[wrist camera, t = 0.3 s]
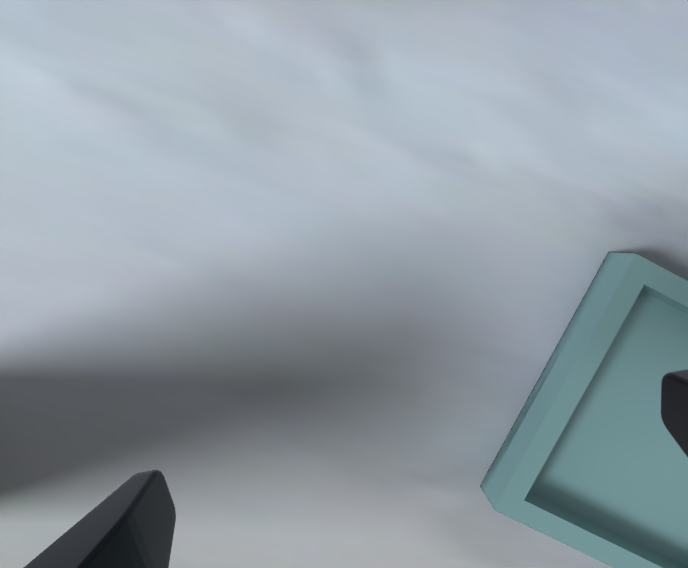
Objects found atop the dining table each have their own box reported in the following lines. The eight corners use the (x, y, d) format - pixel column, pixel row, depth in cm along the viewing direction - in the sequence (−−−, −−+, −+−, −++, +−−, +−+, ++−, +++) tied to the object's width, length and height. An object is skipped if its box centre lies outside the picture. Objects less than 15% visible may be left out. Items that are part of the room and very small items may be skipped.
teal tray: (702, 593, 26) (736, 626, 24) (480, 485, 25) (494, 509, 23) (834, 371, 25) (883, 383, 23) (608, 251, 24) (636, 253, 22)
